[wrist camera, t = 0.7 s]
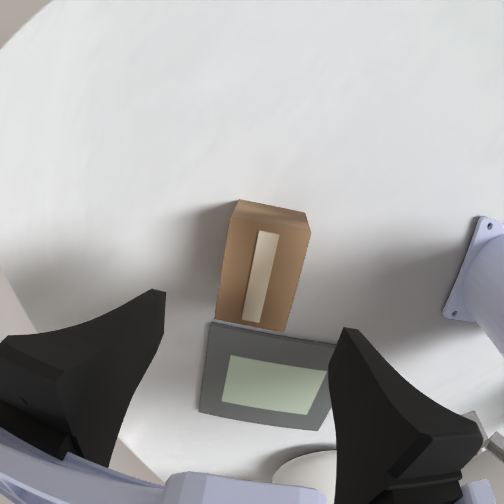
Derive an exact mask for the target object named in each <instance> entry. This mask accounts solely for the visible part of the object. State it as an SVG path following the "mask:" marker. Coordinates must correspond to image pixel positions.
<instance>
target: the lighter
mask: <svg viewBox="0 0 504 504" xmlns="http://www.w3.org/2000/svg"><path fill="white" fill-rule="evenodd" d="M461 416H463V417H465V418H468V419H470V420H473V421H475V422H476V423H477V425H478V427H479V429H480V432H481V434H482V436H483V438H484V440H483V444H482V446H481V448H483V447H485V449H486V450H488V451H489V452H490V453H491V454H493V455H494V456H495V457H496V458H498V459H499V460H500V461H502V462H503V463H504V437H503V436H502V435H501V434H499V433H498V432H495V433H494V434H493V435H492V436H491V437H490V438H489V439H488V437H487V435H486V433H485V431H484V429H483V427H482V425H481V422H480V420H479V418H478V416H477V414H476V412H475V411H473V412H470V413H467V414H464V415H461ZM481 448H480V450H479V451H478V453H477V454H476V455H475V456H474V457H477V456H479V455H480V453H481V452H482V449H481ZM474 457H473V458H474Z"/></svg>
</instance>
